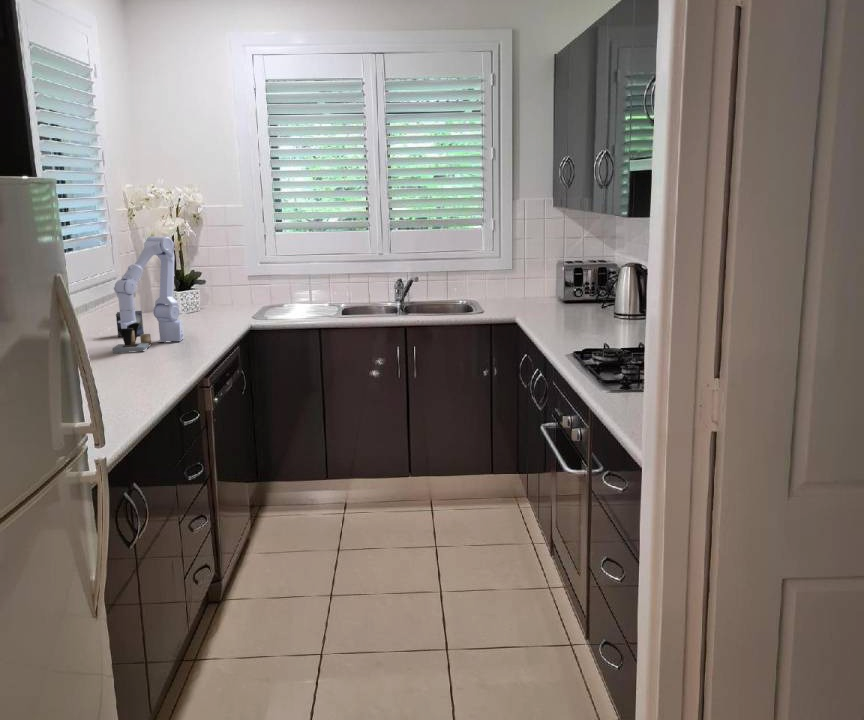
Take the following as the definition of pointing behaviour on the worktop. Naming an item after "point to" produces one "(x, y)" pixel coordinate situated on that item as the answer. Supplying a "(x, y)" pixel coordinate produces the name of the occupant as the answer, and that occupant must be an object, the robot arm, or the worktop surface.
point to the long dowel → (132, 340)
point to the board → (122, 347)
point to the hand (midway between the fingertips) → (130, 343)
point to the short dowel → (145, 338)
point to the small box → (138, 319)
